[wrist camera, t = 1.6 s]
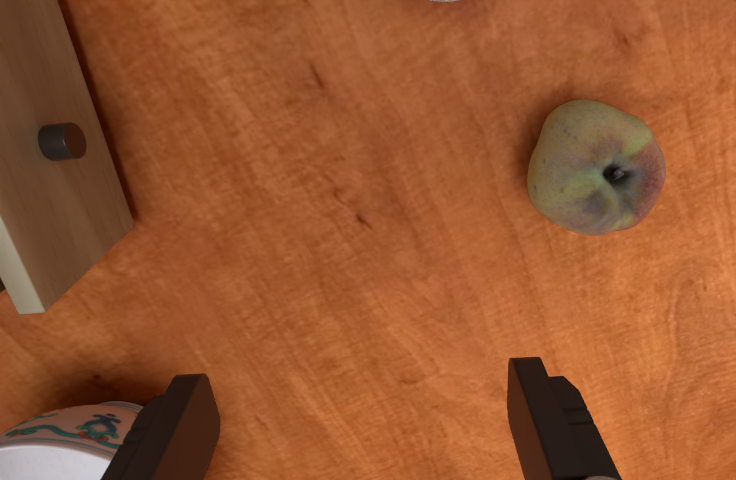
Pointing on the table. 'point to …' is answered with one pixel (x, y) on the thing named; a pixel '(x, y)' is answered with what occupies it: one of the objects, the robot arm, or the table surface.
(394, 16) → the table surface
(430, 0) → the pill bottle
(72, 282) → the drawer
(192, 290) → the table surface
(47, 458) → the chinaware
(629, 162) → the apple
